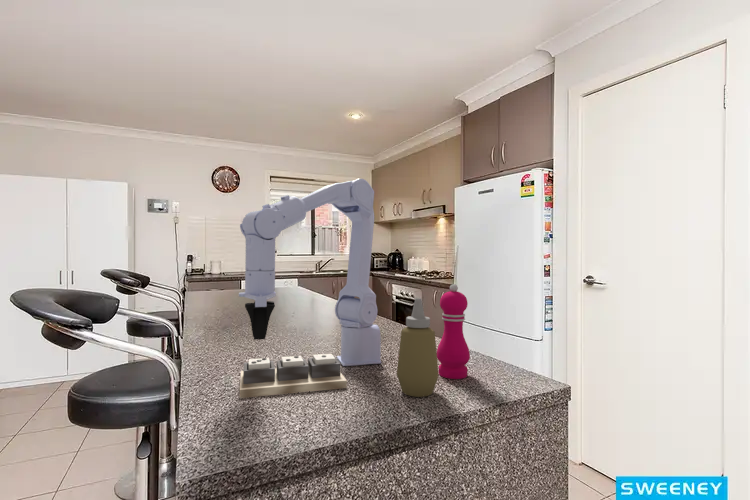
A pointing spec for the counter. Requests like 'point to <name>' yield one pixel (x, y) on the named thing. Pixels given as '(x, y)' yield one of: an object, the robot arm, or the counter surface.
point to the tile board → (290, 379)
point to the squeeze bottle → (417, 355)
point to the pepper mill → (453, 336)
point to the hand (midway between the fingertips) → (259, 338)
